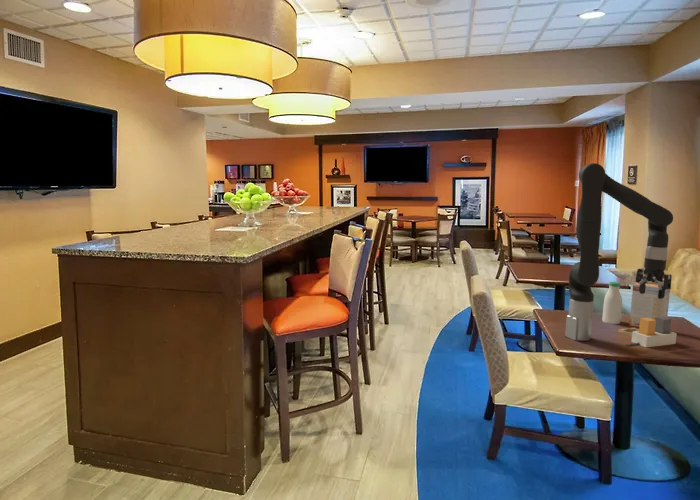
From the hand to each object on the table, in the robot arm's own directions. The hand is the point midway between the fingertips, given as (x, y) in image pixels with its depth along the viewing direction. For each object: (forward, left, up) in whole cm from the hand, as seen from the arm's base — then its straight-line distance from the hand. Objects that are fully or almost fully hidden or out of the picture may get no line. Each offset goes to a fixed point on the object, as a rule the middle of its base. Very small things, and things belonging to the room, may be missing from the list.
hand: (651, 296), depth 194 cm
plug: (0, 0, -20) cm, 20 cm away
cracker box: (+20, +17, -21) cm, 34 cm away
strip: (+1, 0, -21) cm, 21 cm away
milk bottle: (+11, +29, -21) cm, 38 cm away
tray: (+6, +11, -21) cm, 25 cm away
